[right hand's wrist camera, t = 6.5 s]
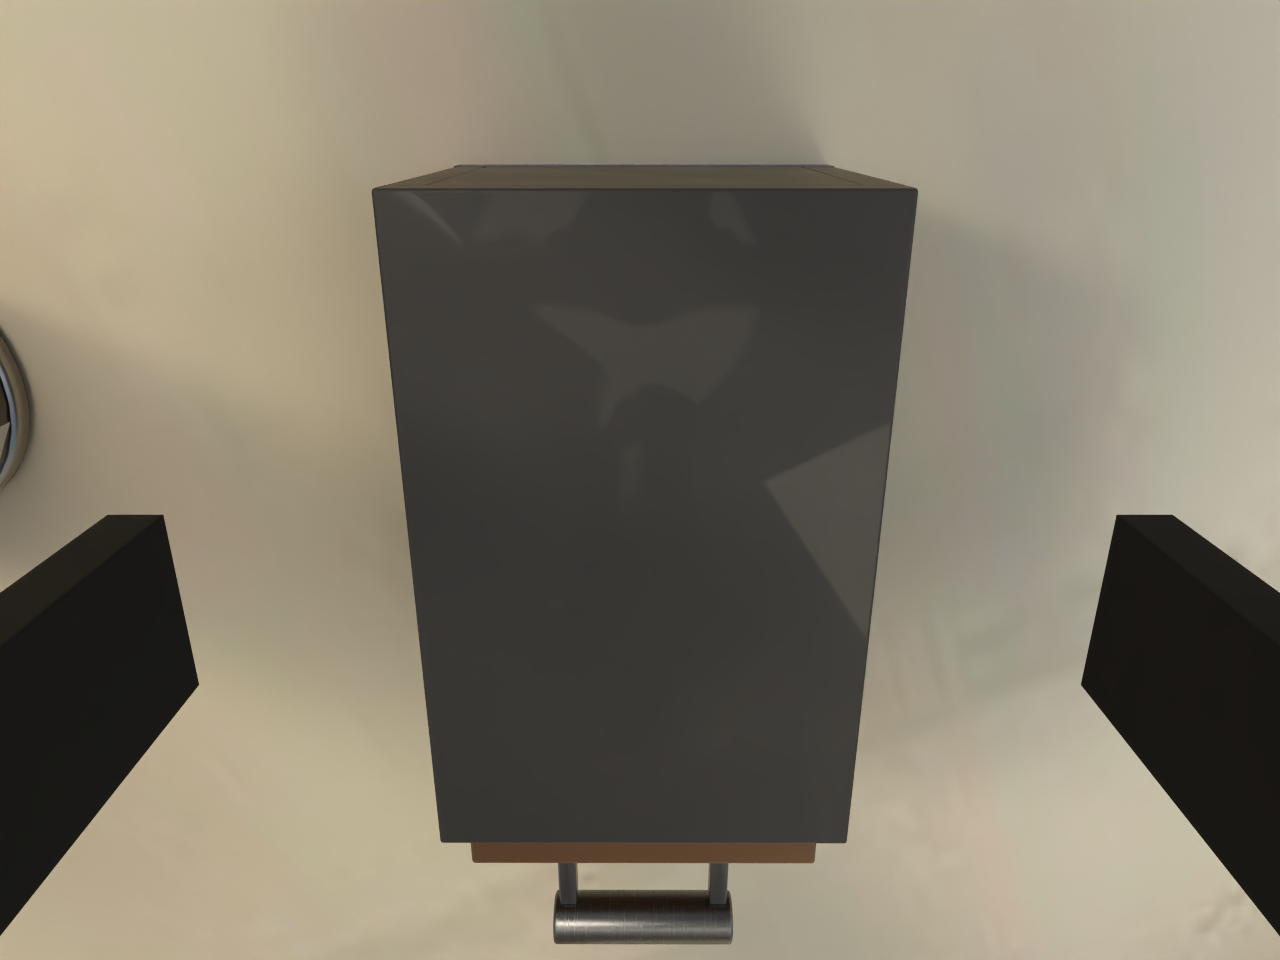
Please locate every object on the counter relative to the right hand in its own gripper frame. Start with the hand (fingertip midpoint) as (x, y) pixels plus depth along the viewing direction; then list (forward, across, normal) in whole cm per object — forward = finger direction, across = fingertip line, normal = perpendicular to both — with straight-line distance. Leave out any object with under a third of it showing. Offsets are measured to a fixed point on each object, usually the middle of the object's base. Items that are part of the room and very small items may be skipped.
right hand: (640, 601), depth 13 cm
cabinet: (+18, 0, -4) cm, 19 cm away
